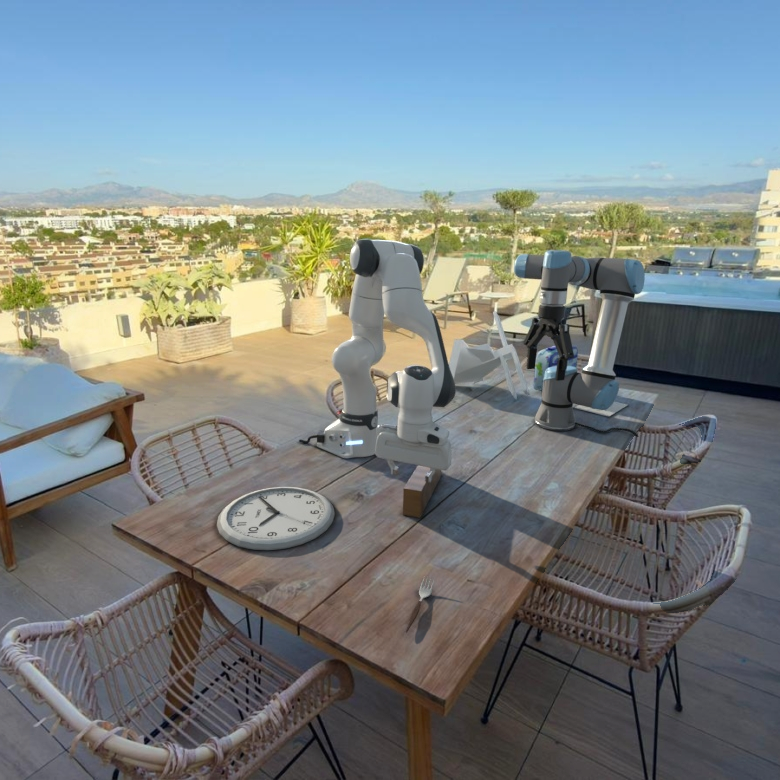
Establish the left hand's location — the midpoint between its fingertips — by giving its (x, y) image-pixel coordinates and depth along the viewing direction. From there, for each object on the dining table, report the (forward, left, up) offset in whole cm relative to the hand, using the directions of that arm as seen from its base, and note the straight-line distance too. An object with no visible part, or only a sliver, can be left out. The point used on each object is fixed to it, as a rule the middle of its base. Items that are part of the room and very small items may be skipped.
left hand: (411, 477), depth 138 cm
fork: (+20, -33, -10) cm, 39 cm away
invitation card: (+29, +120, -10) cm, 124 cm away
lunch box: (+5, +135, -10) cm, 135 cm away
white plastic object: (-23, +110, -10) cm, 113 cm away
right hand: (+21, +46, +21) cm, 55 cm away
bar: (-1, +10, -10) cm, 14 cm away
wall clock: (-28, -22, -10) cm, 37 cm away
